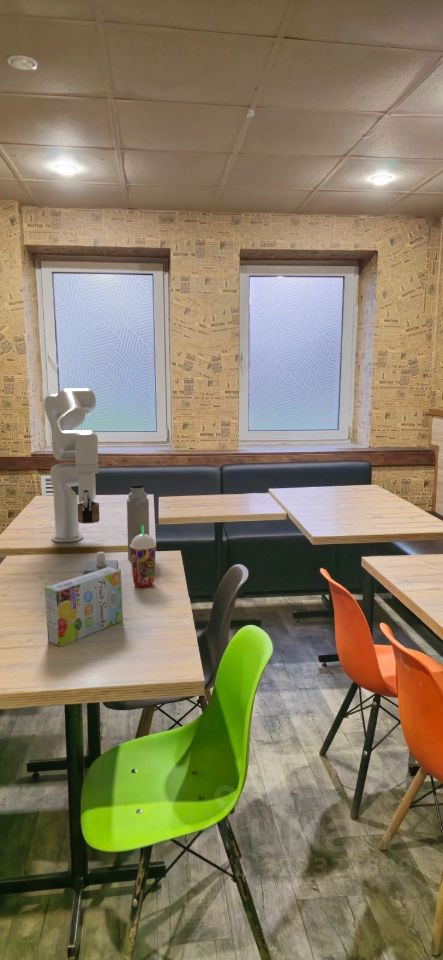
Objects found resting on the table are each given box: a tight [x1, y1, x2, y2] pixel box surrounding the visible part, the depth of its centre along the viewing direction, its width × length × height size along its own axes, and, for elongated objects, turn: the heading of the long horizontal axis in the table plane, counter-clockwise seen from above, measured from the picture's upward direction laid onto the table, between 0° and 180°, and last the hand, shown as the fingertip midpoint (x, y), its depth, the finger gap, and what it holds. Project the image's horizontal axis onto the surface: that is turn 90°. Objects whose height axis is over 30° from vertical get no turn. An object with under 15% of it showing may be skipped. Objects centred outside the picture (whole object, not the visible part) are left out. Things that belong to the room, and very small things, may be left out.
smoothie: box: [130, 526, 157, 589], centre depth 195 cm, size 8×8×20 cm
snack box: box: [44, 567, 124, 648], centre depth 161 cm, size 21×6×15 cm, turn 141°
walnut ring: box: [77, 501, 101, 524], centre depth 209 cm, size 7×7×6 cm
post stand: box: [83, 551, 119, 575], centre depth 212 cm, size 11×11×6 cm
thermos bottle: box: [126, 483, 150, 561], centre depth 223 cm, size 8×8×28 cm
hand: (89, 518), depth 210 cm, fingers closed on walnut ring, 7 cm apart
